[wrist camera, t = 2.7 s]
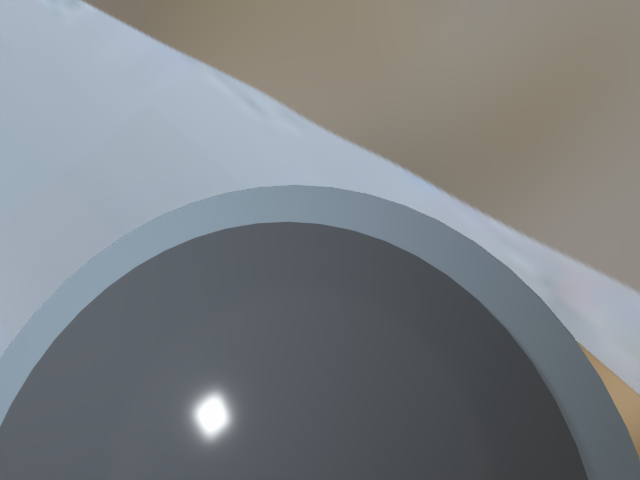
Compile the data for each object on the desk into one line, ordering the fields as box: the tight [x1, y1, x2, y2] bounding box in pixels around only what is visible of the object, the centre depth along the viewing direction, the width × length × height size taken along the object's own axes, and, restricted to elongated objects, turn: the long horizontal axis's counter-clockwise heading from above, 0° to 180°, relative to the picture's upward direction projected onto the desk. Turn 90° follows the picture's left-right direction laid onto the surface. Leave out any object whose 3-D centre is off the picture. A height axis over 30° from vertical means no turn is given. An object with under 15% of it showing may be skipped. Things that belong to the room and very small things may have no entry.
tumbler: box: [0, 185, 640, 480], centre depth 9 cm, size 6×6×13 cm
